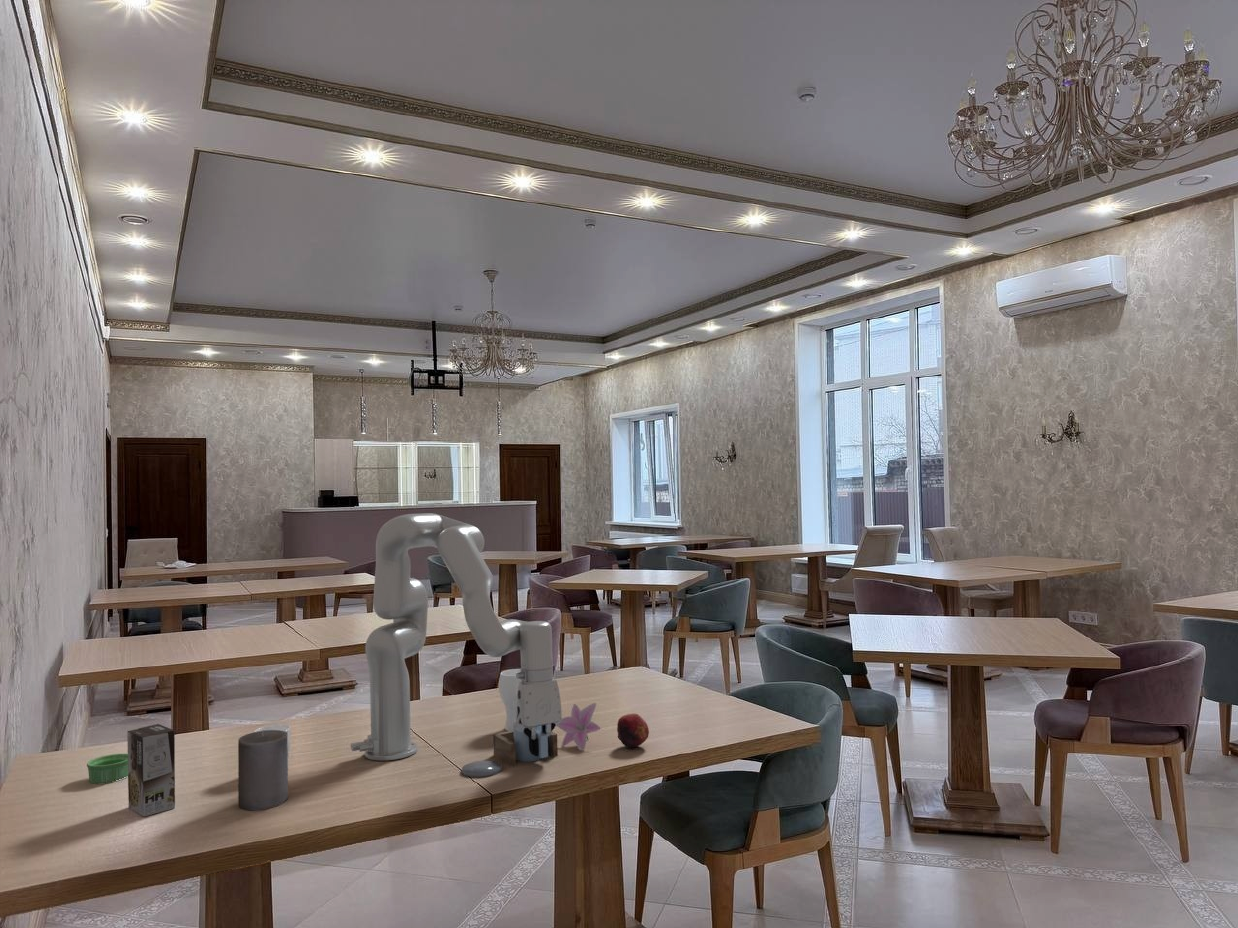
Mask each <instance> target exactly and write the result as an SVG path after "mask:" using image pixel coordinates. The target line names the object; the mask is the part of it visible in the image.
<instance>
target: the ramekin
mask: <svg viewBox="0 0 1238 928" xmlns="http://www.w3.org/2000/svg"><path fill="white" fill-rule="evenodd" d="M86 767H87V770H88V771H87V772H88V778H89V779H88V780H89V782H90V784H94V783H105V784H107V783H106V782H111V783H113V782H112V781H116V780H119V779H122V778H124V777H126V776H128V753H112V754H106V755H103V756H102V755H101V756H98V757H95V758H93V759H90V760H89V761H88V762H86ZM126 778H127V777H126ZM122 780H123V779H122ZM119 781H120V780H119ZM116 782H117V781H116Z"/></svg>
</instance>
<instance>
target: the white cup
mask: <svg viewBox="0 0 1238 928" xmlns="http://www.w3.org/2000/svg"><path fill="white" fill-rule="evenodd" d="M262 730H263V731H264V730H280V731H284V732H287V734H288V735H287V747H288V750H287V753H288V760H289V759H290V747H291V744H290V743H291V726H290V725H287V724H272V725H266V726H262V727H259V728H257V729H254V731H253V732H258V731H262Z"/></svg>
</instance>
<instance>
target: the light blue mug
mask: <svg viewBox="0 0 1238 928" xmlns="http://www.w3.org/2000/svg"><path fill="white" fill-rule="evenodd" d="M515 724H516V722H515V723H514V724H513V727H515ZM522 726H523V727H525V726H524V725H522ZM536 737H537V739H538V745H539V755H538V756H534V755H532V754H531V752H530V751H529V737H527V735H526V734H524V733H522V732H518V731H516V730H514V743H515V761H518V762H521V763H522V762H524V763H529V762H536V761H539V760H541V759H543V758H544V759H545V758H548V757H549V754H548V735H547V734H545V733H543V732H541V726H537V727H536Z"/></svg>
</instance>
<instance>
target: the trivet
mask: <svg viewBox="0 0 1238 928" xmlns="http://www.w3.org/2000/svg"><path fill="white" fill-rule="evenodd" d="M502 765H503V764H501V762H499V761H495V760H478V761H477V760H475V761H472V762H469V763H466V764H465V765H463V766H462V768H461V773H462V775H464V776H465V777H469V778H484V777H485V778H486V777H491V776H494V775H495V776H496V775H497V774H499V773H501V772H502V770H503V766H502Z"/></svg>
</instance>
